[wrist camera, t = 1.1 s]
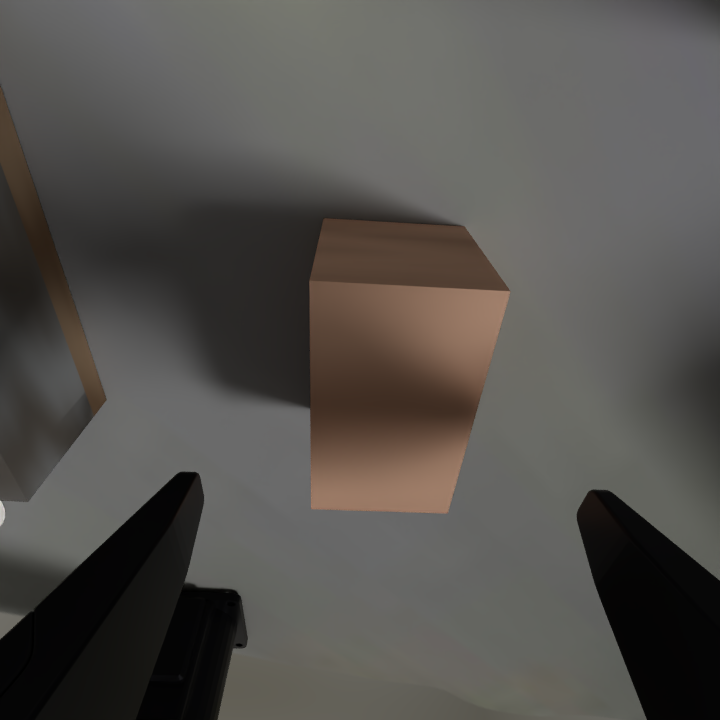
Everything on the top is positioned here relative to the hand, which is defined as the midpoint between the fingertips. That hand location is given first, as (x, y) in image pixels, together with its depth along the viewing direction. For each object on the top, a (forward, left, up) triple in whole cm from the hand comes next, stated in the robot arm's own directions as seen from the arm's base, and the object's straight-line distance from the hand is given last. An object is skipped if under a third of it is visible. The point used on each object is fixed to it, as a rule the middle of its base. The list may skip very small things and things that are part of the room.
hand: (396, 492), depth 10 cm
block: (0, 0, -7) cm, 7 cm away
